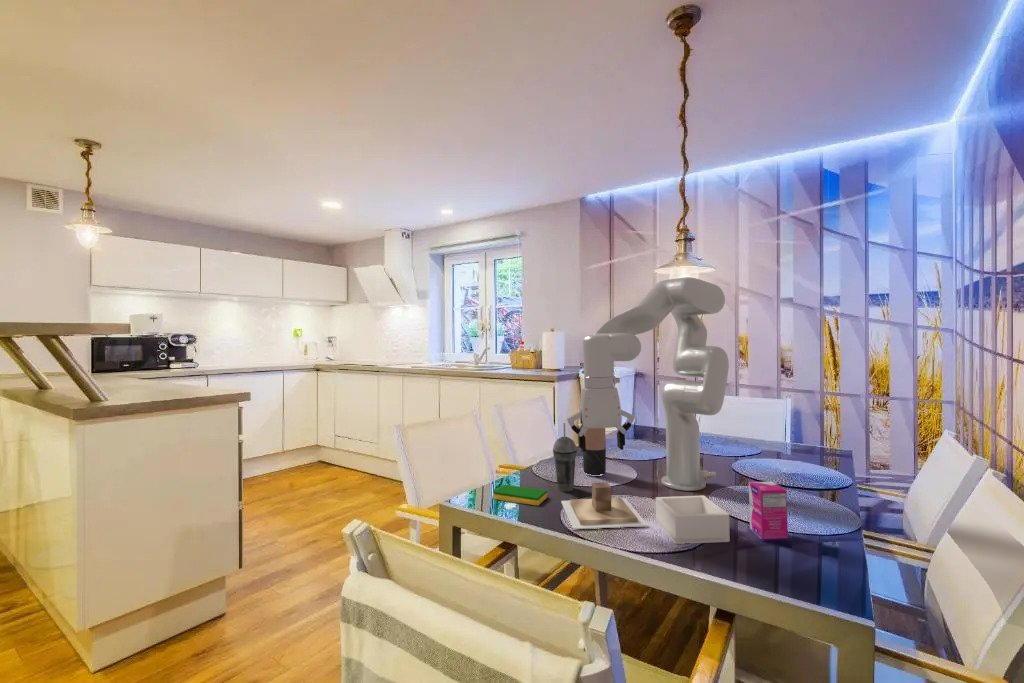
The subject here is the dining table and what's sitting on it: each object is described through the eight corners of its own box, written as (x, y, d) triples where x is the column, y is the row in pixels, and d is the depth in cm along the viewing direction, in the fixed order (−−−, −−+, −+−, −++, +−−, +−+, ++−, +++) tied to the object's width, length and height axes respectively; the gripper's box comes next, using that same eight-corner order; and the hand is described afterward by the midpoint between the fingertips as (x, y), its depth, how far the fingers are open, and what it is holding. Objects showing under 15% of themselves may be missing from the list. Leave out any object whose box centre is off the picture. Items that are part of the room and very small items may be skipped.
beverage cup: (577, 485, 140) (576, 420, 140) (578, 493, 133) (577, 424, 132) (553, 484, 141) (552, 420, 140) (553, 492, 133) (551, 424, 133)
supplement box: (748, 530, 105) (748, 481, 105) (774, 530, 105) (774, 481, 105) (761, 541, 100) (760, 489, 100) (789, 541, 99) (788, 489, 99)
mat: (625, 500, 126) (625, 498, 126) (648, 527, 108) (648, 525, 108) (561, 502, 125) (561, 500, 125) (573, 530, 108) (573, 528, 107)
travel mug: (608, 476, 147) (607, 415, 147) (584, 477, 147) (583, 415, 147) (604, 469, 155) (602, 411, 155) (581, 470, 155) (580, 411, 155)
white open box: (704, 519, 112) (703, 495, 112) (729, 541, 100) (729, 514, 100) (656, 521, 111) (655, 497, 111) (675, 544, 99) (675, 516, 99)
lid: (620, 501, 124) (620, 475, 124) (637, 522, 110) (637, 493, 110) (569, 503, 123) (569, 477, 123) (580, 524, 110) (579, 495, 109)
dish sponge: (504, 492, 136) (504, 484, 136) (547, 498, 130) (547, 490, 130) (493, 500, 130) (492, 491, 130) (537, 507, 124) (537, 498, 124)
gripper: (628, 379, 121) (630, 443, 121) (563, 383, 120) (566, 447, 120) (637, 383, 113) (639, 451, 114) (568, 386, 112) (571, 455, 113)
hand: (601, 449), depth 117 cm, fingers open, 9 cm apart
